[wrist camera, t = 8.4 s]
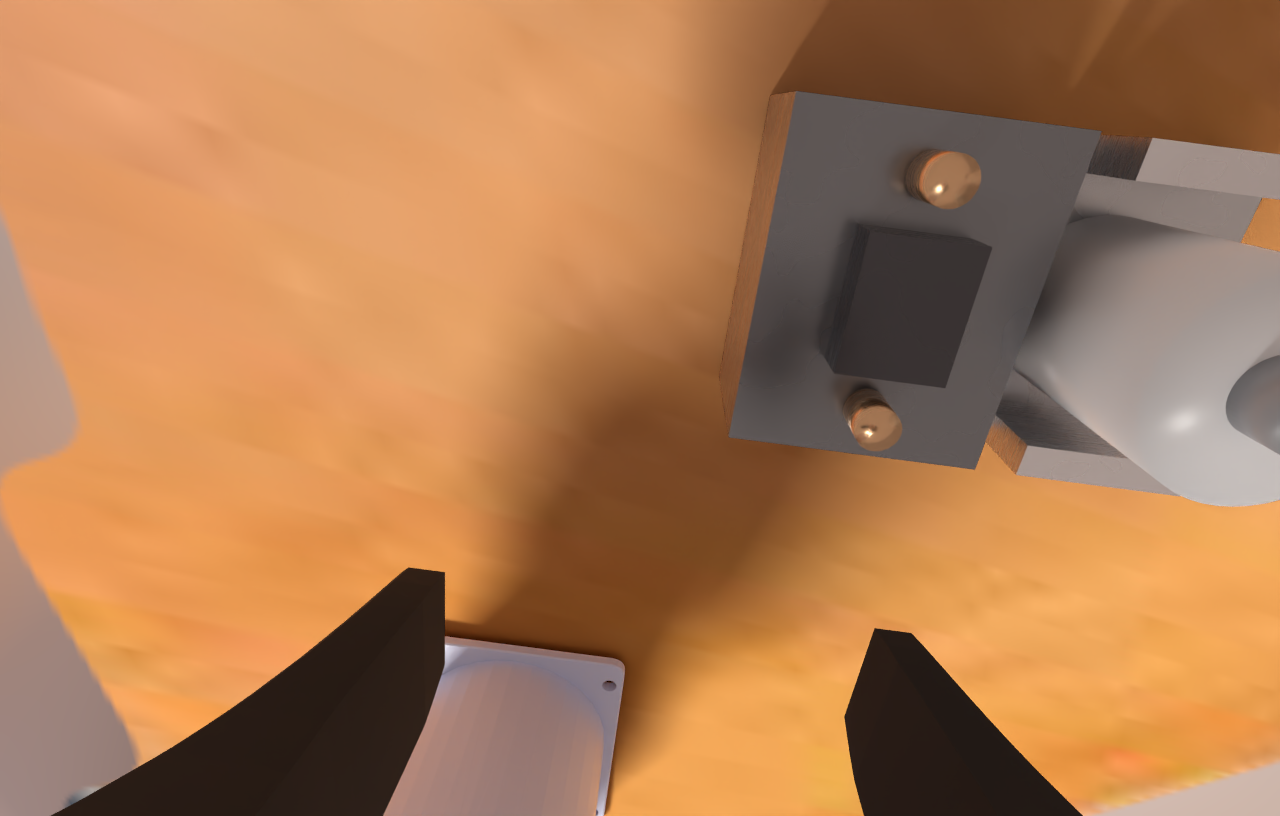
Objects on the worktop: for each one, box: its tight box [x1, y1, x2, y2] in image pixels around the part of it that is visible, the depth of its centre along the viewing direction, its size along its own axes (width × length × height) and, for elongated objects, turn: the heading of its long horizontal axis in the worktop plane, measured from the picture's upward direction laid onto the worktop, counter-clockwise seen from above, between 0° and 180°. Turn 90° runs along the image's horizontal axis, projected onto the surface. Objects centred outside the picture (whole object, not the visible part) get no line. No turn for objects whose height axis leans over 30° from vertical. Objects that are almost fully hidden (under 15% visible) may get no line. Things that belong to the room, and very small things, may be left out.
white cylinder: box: [1013, 215, 1280, 507], centre depth 14 cm, size 5×5×7 cm
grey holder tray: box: [719, 91, 1280, 496], centre depth 16 cm, size 8×12×5 cm, turn 83°
